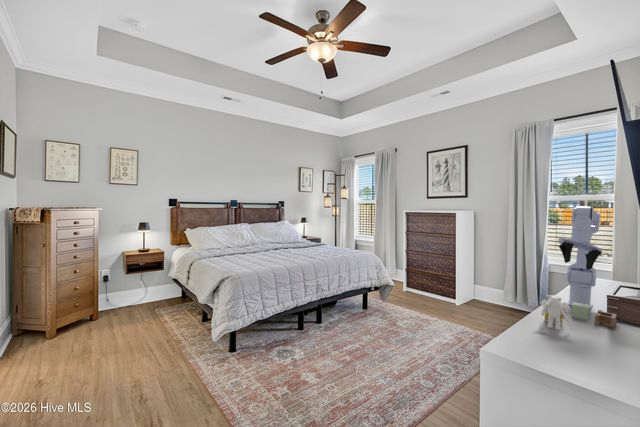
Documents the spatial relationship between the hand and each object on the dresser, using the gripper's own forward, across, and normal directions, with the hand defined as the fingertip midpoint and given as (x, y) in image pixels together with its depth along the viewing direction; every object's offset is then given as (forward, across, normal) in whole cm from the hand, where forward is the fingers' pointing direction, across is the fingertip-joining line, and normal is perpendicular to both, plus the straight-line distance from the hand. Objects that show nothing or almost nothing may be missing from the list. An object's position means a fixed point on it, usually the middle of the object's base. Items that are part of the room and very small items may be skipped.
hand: (578, 265), depth 120 cm
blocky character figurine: (+27, -6, 0) cm, 27 cm away
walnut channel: (+17, +10, +10) cm, 22 cm away
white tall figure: (+23, -4, +5) cm, 24 cm away
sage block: (+16, +10, +12) cm, 22 cm away
